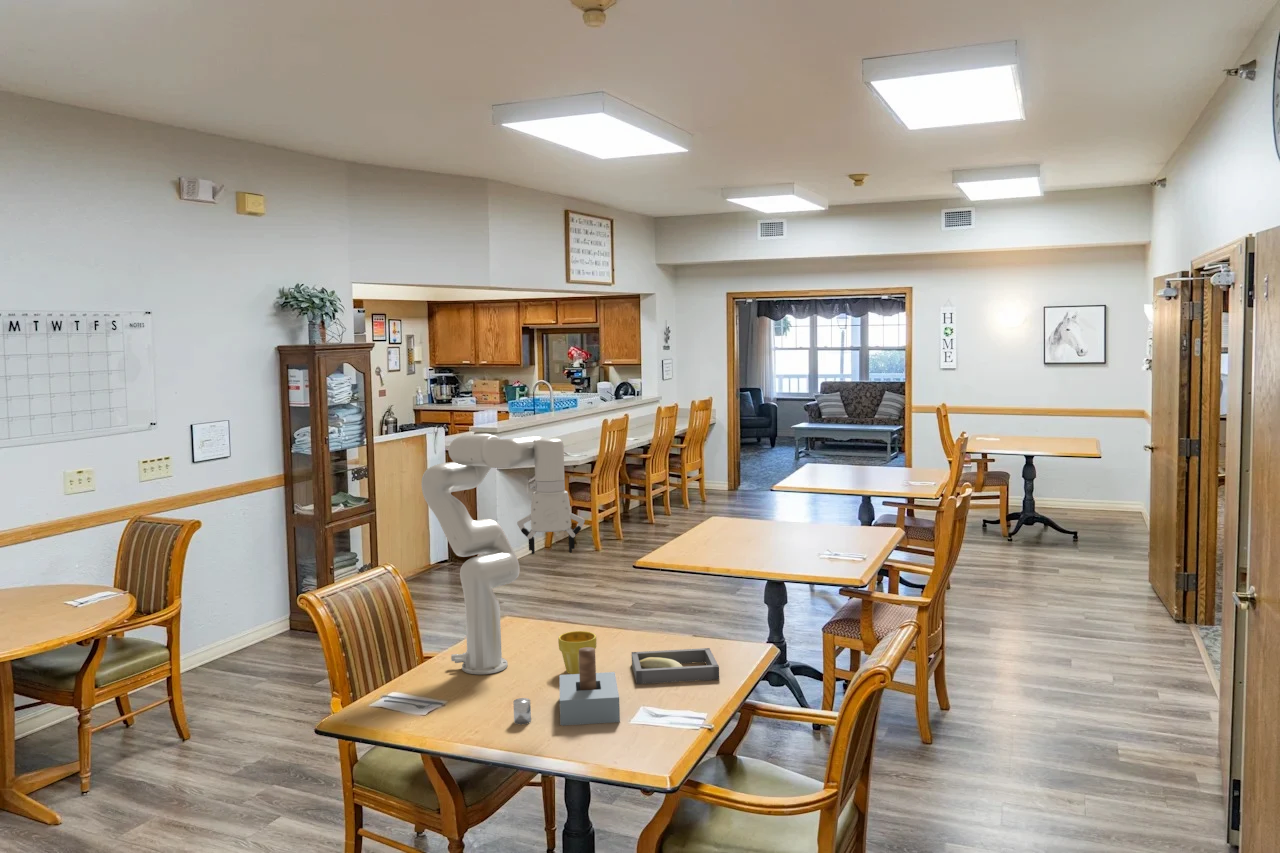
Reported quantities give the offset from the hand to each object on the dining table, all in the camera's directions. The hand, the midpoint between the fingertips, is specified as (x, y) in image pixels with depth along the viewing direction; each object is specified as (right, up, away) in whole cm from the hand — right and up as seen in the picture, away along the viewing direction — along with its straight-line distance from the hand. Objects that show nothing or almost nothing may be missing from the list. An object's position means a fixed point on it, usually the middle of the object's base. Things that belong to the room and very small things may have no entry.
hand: (551, 552), depth 245 cm
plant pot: (+6, -35, +16) cm, 39 cm away
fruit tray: (+32, -34, +14) cm, 49 cm away
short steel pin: (-5, -38, -19) cm, 42 cm away
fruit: (+29, -35, +14) cm, 47 cm away
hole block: (+10, -37, -12) cm, 40 cm away
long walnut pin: (+10, -37, -12) cm, 40 cm away
